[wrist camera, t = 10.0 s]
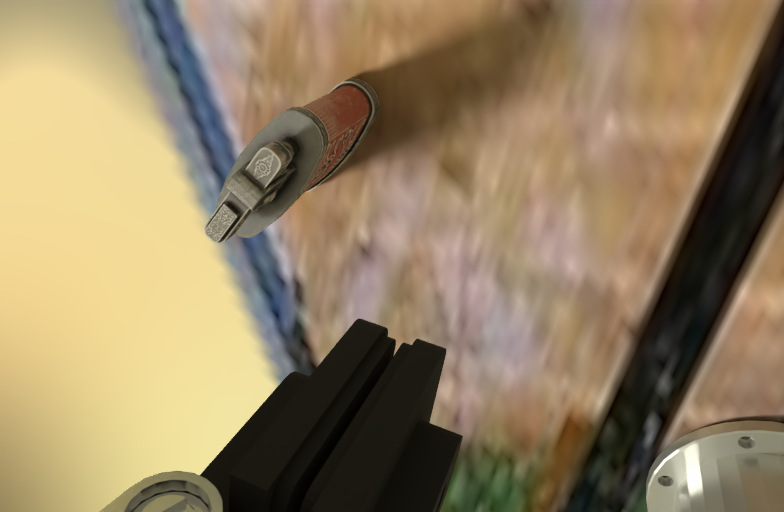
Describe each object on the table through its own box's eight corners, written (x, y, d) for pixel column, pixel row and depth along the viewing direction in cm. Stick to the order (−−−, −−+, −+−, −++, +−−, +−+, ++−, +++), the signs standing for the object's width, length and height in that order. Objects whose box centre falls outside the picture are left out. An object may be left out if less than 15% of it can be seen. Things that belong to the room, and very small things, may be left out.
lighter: (347, 63, 32) (252, 106, 24) (392, 107, 33) (313, 164, 24) (274, 161, 37) (172, 226, 28) (314, 199, 37) (225, 274, 29)
